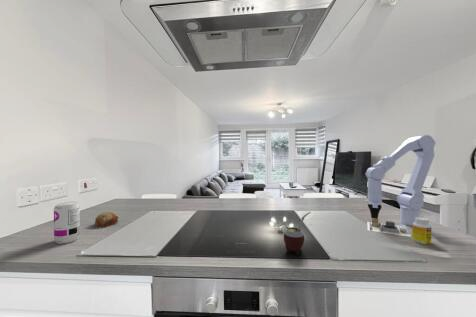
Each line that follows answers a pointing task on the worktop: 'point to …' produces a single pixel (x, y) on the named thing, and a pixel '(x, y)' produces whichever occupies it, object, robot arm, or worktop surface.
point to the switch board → (387, 229)
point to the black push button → (390, 224)
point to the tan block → (374, 222)
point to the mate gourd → (294, 238)
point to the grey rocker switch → (402, 228)
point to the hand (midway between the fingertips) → (374, 219)
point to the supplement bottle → (421, 231)
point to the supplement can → (66, 222)
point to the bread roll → (106, 219)
